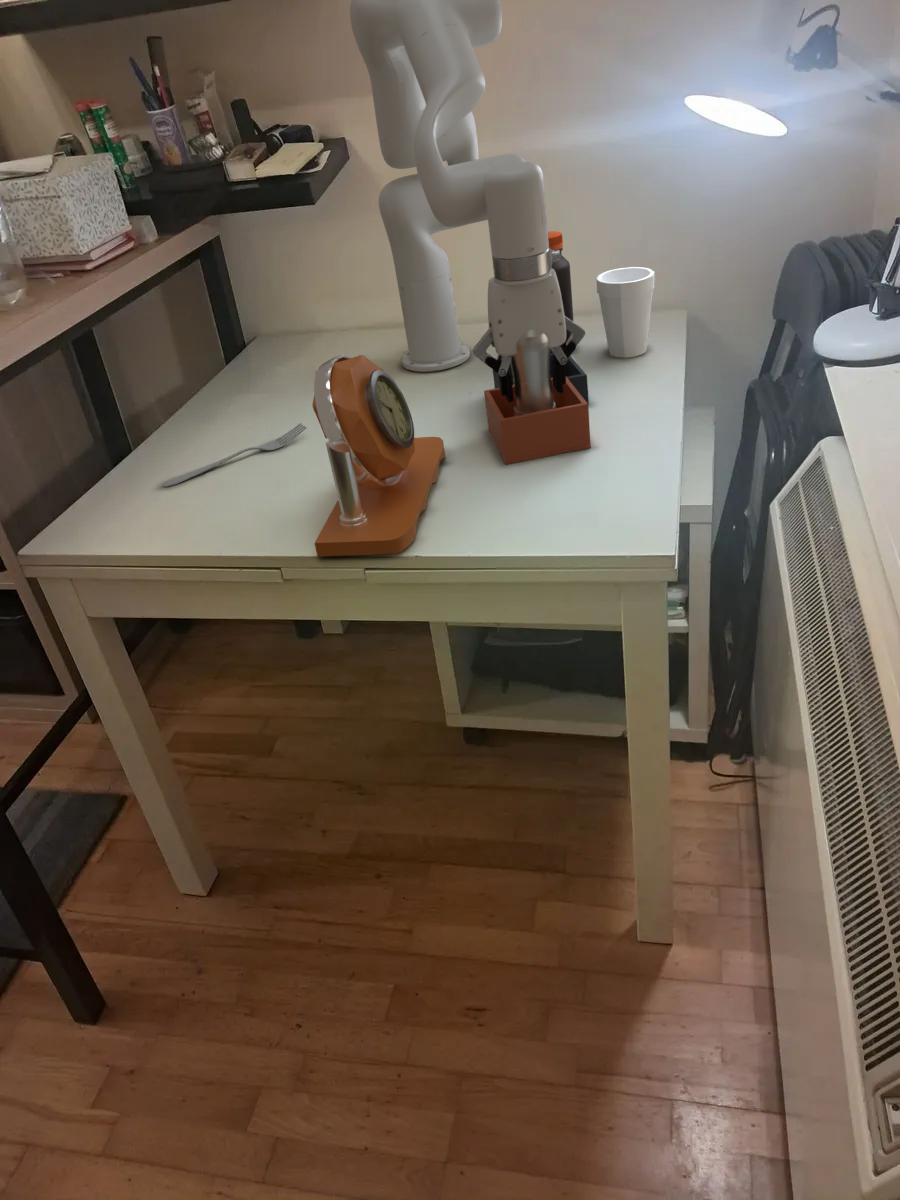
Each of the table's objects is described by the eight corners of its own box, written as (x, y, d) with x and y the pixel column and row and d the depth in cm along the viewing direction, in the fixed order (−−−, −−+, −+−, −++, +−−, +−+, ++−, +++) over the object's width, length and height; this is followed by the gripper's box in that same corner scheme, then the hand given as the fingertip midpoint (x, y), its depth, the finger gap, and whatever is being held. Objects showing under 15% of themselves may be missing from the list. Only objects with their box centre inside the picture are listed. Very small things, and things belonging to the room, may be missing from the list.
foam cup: (653, 339, 166) (652, 264, 159) (658, 357, 158) (656, 279, 151) (599, 345, 168) (595, 271, 160) (601, 363, 160) (597, 286, 153)
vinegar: (535, 358, 166) (524, 241, 155) (540, 345, 172) (530, 231, 161) (573, 356, 165) (565, 238, 154) (577, 343, 170) (570, 228, 159)
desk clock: (314, 559, 117) (276, 407, 106) (370, 455, 141) (344, 323, 130) (409, 556, 114) (380, 400, 103) (450, 450, 138) (430, 315, 127)
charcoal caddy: (495, 393, 155) (491, 364, 152) (568, 379, 156) (566, 350, 153) (510, 420, 145) (507, 389, 142) (588, 405, 145) (586, 374, 143)
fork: (160, 483, 143) (156, 473, 142) (302, 432, 152) (300, 422, 152) (166, 490, 141) (163, 479, 140) (310, 437, 150) (308, 427, 149)
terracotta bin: (488, 431, 142) (483, 390, 139) (568, 416, 143) (565, 375, 139) (505, 464, 132) (500, 421, 128) (590, 447, 133) (588, 404, 129)
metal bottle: (530, 449, 133) (516, 309, 123) (506, 435, 139) (491, 299, 128) (568, 435, 135) (558, 297, 125) (543, 422, 141) (531, 288, 130)
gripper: (577, 248, 127) (585, 374, 137) (453, 271, 127) (469, 396, 136) (593, 260, 121) (600, 391, 131) (462, 284, 120) (479, 415, 130)
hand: (533, 393), depth 133 cm, fingers open, 6 cm apart
